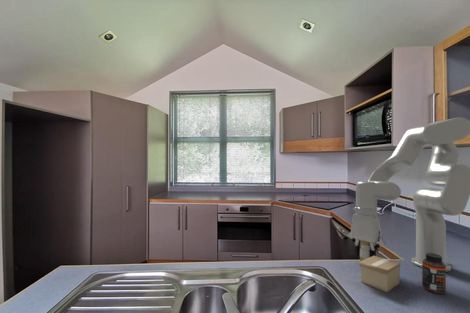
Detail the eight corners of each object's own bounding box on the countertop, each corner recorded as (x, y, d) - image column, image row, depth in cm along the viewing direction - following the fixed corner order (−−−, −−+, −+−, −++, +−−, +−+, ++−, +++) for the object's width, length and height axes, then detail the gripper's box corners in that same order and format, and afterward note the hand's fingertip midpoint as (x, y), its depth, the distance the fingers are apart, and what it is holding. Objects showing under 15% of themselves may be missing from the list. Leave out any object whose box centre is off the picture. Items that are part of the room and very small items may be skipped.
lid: (374, 258, 89) (374, 254, 89) (400, 266, 82) (400, 262, 82) (358, 265, 82) (358, 261, 82) (385, 275, 75) (385, 270, 75)
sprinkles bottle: (361, 262, 100) (361, 229, 100) (373, 265, 97) (373, 231, 97) (357, 265, 97) (358, 231, 97) (370, 268, 94) (370, 234, 94)
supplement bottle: (439, 296, 75) (438, 259, 75) (418, 287, 80) (418, 252, 80) (449, 292, 77) (449, 256, 77) (428, 284, 82) (428, 250, 83)
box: (374, 274, 88) (374, 258, 89) (399, 283, 82) (399, 266, 82) (361, 282, 82) (361, 264, 83) (387, 292, 76) (387, 273, 76)
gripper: (341, 209, 102) (340, 252, 101) (384, 216, 89) (384, 267, 88) (350, 207, 107) (350, 249, 106) (393, 214, 93) (393, 262, 92)
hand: (365, 257), depth 97 cm, fingers closed on sprinkles bottle, 4 cm apart
